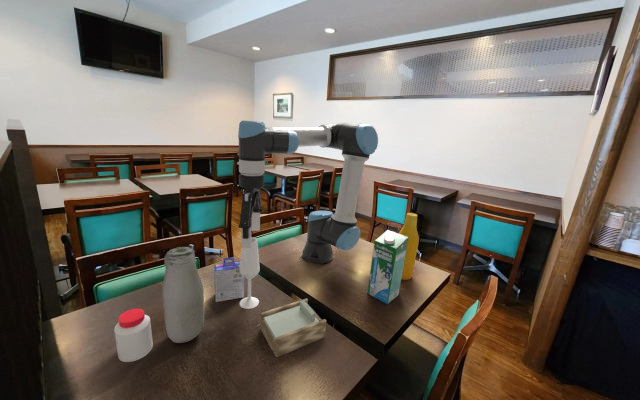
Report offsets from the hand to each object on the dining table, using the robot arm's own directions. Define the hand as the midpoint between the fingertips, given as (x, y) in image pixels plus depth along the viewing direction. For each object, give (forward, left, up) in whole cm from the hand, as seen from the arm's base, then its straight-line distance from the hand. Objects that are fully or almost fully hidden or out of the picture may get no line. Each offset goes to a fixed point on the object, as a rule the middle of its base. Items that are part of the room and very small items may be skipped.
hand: (251, 238), depth 86 cm
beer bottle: (-67, +10, -26) cm, 72 cm away
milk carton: (-48, +17, -26) cm, 57 cm away
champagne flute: (0, -1, -25) cm, 26 cm away
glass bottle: (+21, +6, -26) cm, 33 cm away
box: (-7, +19, -25) cm, 32 cm away
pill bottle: (+33, +5, -26) cm, 42 cm away
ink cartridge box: (+5, -8, -26) cm, 27 cm away
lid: (-6, +19, -21) cm, 29 cm away
